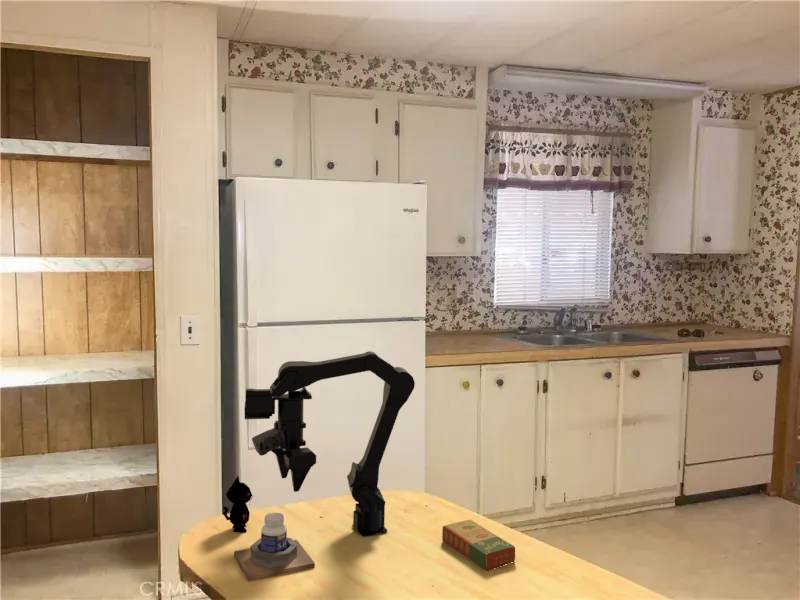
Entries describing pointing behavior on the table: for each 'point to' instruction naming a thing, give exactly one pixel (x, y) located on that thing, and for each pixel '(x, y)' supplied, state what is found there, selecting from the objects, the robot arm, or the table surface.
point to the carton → (478, 545)
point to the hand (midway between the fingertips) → (290, 484)
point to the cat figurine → (238, 505)
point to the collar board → (273, 560)
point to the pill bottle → (273, 534)
